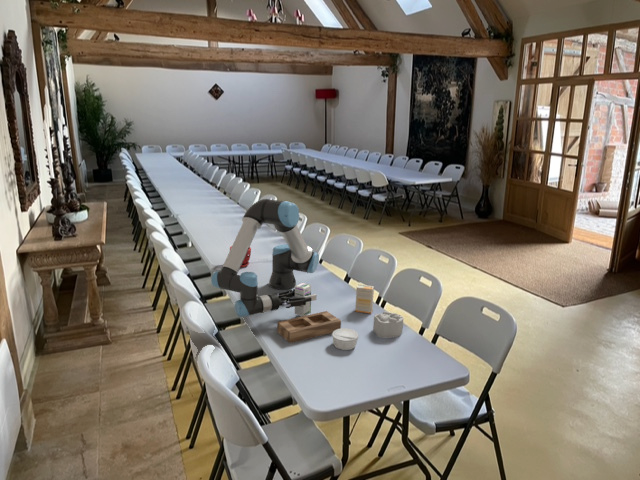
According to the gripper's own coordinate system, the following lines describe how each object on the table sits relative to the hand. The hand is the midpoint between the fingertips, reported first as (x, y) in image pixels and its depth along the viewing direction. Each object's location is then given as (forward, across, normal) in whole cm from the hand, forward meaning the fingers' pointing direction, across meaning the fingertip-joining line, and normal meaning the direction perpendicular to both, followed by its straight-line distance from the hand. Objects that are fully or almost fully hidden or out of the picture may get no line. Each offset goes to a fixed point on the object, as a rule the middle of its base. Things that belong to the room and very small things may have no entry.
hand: (311, 294), depth 227 cm
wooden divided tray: (-10, +15, -11) cm, 21 cm away
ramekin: (-3, +33, -11) cm, 35 cm away
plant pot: (-2, -84, -11) cm, 85 cm away
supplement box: (+26, +8, -11) cm, 29 cm away
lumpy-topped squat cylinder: (+22, +32, -11) cm, 41 cm away
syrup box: (-5, 0, -9) cm, 11 cm away
